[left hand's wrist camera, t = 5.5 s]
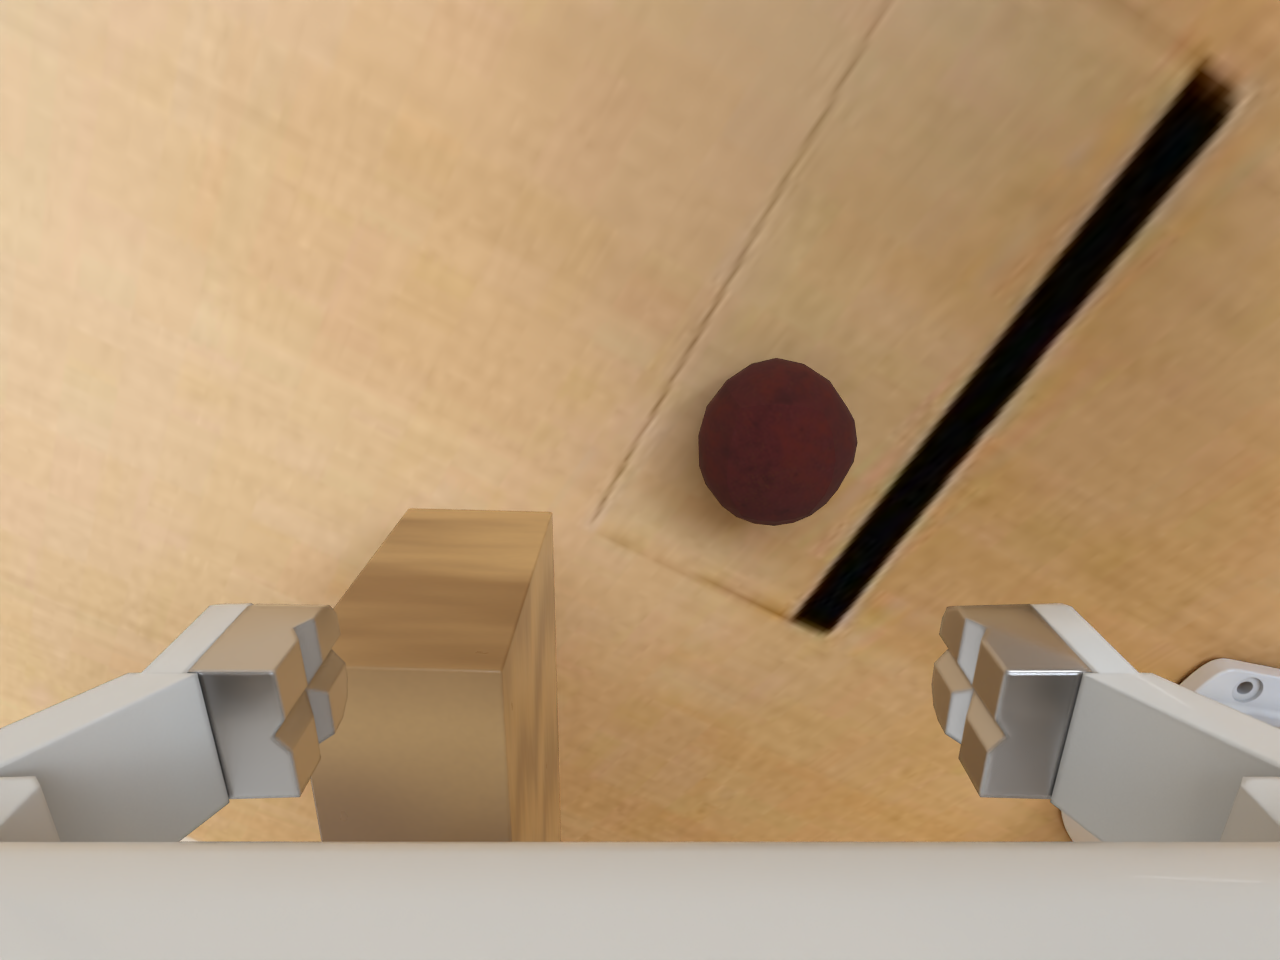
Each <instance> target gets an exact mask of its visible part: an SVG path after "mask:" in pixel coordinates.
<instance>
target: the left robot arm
mask: <svg viewBox="0 0 1280 960" xmlns="http://www.w3.org/2000/svg"><path fill="white" fill-rule="evenodd" d="M340 635H341V633H340V628H339V623H338V618H337V614H336V612H335V611H334V610H333V609H332V607H331V606H330V605H287V604H255V605H254V604H252V603H240V604H217V605H210V606H209V607H208V608H207V609H206V610H205V611H204V612H203V613H202V614H201V615H200V616H199V617H198V618H197V619H196V620H195V621H194V622H193V623H192V624H190V625H189V626H188V627H187V628H186V629H185V630H184V631H183V632H182V633H181V634H180V635H179V636H178V637H177V638H176V639H175V640H174V641H173V642H172V643H171V644H170V645H169V646H168V647H167V648H166V649H165V650H164V651H163V652H162V653H161V654H160V655H159V656H158V657H157V658H156V659H155V660H154V661H153V662H152V663H151V664H150V665H149V666H148V667H147V668H146V669H145V670H144V671H142V672H141V673H127V674H125V675H123V676H120V677H118V678H116V679H113V680H111V681H109V682H106V683H104V684H102V685H100V686H97V687H95V688H93V689H90V690H88V691H86V692H83V693H81V694H79V695H76V696H74V697H72V698H70V699H67V700H65V701H63V702H60V703H58V704H56V705H53V706H51V707H49V708H46V709H44V710H42V711H40V712H37V713H35V714H33V715H30V716H28V717H26V718H23V719H21V720H19V721H16V722H14V723H12V724H10V725H7V726H5V727H3V728H0V960H1280V729H1279V728H1277V727H1275V726H1272V725H1270V724H1268V723H1266V722H1263V721H1261V720H1259V719H1256V718H1254V717H1252V716H1249V715H1247V714H1245V713H1243V712H1240V711H1238V710H1236V709H1233V708H1231V707H1229V706H1226V705H1224V704H1222V703H1220V702H1217V701H1215V700H1213V699H1210V698H1208V697H1206V696H1203V695H1201V694H1199V693H1197V692H1194V691H1192V690H1190V689H1187V688H1185V687H1183V686H1180V685H1178V684H1176V683H1173V682H1171V681H1169V680H1167V679H1164V678H1162V677H1160V676H1157V675H1155V674H1153V673H1139V672H1138V671H1137V670H1136V669H1134V668H1133V667H1132V666H1131V665H1130V664H1129V663H1128V662H1127V661H1126V660H1125V659H1124V658H1123V657H1122V656H1121V655H1120V654H1119V653H1118V652H1117V651H1116V650H1115V649H1114V648H1113V647H1112V646H1111V645H1110V644H1109V643H1108V642H1107V641H1106V640H1105V639H1104V638H1103V637H1102V636H1101V635H1100V634H1099V633H1098V632H1097V631H1096V630H1095V629H1094V628H1093V627H1092V626H1091V625H1090V624H1089V623H1088V622H1087V621H1086V620H1085V619H1084V618H1083V617H1082V616H1081V615H1080V614H1078V613H1077V612H1076V611H1075V610H1074V609H1073V608H1072V607H1071V606H1068V605H1066V604H1063V603H1049V604H1017V605H976V606H951V607H947V609H946V611H945V613H944V615H943V617H942V622H941V627H940V633H939V635H940V636H941V638H942V640H943V641H944V643H945V644H946V646H947V647H948V650H947V651H946V652H945V653H944V654H943V655H942V656H941V657H940V658H939V659H938V660H937V661H936V662H935V663H934V670H933V678H932V695H933V705H934V709H935V712H936V715H937V719H938V721H939V723H940V725H941V727H942V729H943V731H944V733H945V734H946V735H948V736H949V737H951V738H952V739H954V740H955V741H957V742H958V743H960V744H961V748H960V753H959V760H960V762H961V764H962V765H963V767H964V769H965V771H966V773H967V774H968V776H969V778H970V780H971V781H972V783H973V785H974V787H975V789H976V790H977V792H978V794H979V796H980V797H994V798H1031V799H1051V801H1050V802H1051V803H1052V804H1053V805H1055V806H1056V807H1057V808H1058V809H1060V810H1061V811H1062V812H1064V813H1065V814H1066V815H1068V816H1069V817H1070V818H1071V819H1073V820H1074V821H1075V822H1077V823H1078V824H1079V825H1080V826H1082V827H1083V828H1084V829H1086V830H1087V831H1088V832H1089V833H1091V834H1092V835H1093V836H1095V837H1096V838H1097V839H1098V840H1100V841H1101V842H179V841H180V840H182V839H183V838H184V837H186V836H187V835H188V834H189V833H191V832H192V831H193V830H195V829H196V828H197V827H199V826H200V825H201V824H202V823H204V822H205V821H206V820H208V819H209V818H210V817H211V816H213V815H214V814H215V813H217V812H218V811H219V810H221V809H222V808H223V807H224V806H226V805H227V804H228V803H229V799H248V798H284V797H300V796H301V794H302V792H303V790H304V789H305V787H306V785H307V783H308V782H309V780H310V778H311V776H312V774H313V773H314V771H315V769H316V767H317V765H318V764H319V762H320V760H321V753H320V748H319V744H320V743H322V742H323V741H325V740H326V739H328V738H329V737H331V736H332V735H334V734H335V733H336V731H337V729H338V727H339V725H340V723H341V721H342V719H343V716H344V711H345V707H346V703H347V698H348V676H347V669H346V663H345V662H344V661H343V660H342V659H341V658H340V657H339V656H338V655H337V654H336V653H335V652H334V651H333V650H332V647H333V646H334V644H335V643H336V641H337V640H338V638H339V636H340Z"/></svg>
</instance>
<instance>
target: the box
mask: <svg viewBox="0 0 1280 960" xmlns="http://www.w3.org/2000/svg"><path fill="white" fill-rule="evenodd" d="M333 610H334V611H335V612H336V614H337V618H338V623H339V628H340V633H341V635H340V636H339V638H338V640H337V641H336V643H335V644H334V646H333V647H332V650H333V651H334V652H335V653H336V654H337V655H338V656H339V657H340V658H341V659H342V660H343V661H344V662H345V663H346V669H347V676H348V698H347V703H346V707H345V711H344V716H343V719H342V721H341V723H340V725H339V727H338V729H337V731H336V733H335V734H334V735H332V736H331V737H329V738H328V739H326V740H325V741H323V742H322V743H320V744H319V748H320V753H321V760H320V762H319V764H318V765H317V767H316V769H315V771H314V773H313V774H312V776H311V778H310V779H311V784H312V790H313V795H314V801H315V807H316V812H317V818H318V824H319V829H320V835H321V840H322V842H561V824H560V786H559V748H558V711H557V673H556V635H555V597H554V560H553V522H552V513H551V512H529V511H489V510H449V509H408V510H407V512H406V513H405V514H404V516H403V517H402V518H401V520H400V521H399V522H398V524H397V525H396V526H395V528H394V529H393V530H392V532H391V533H390V534H389V535H388V537H387V538H386V539H385V541H384V542H383V543H382V545H381V546H380V547H379V549H378V550H377V551H376V553H375V554H374V555H373V557H372V558H371V559H370V561H369V562H368V563H367V565H366V566H365V567H364V569H363V570H362V571H361V573H360V574H359V575H358V577H357V578H356V579H355V581H354V582H353V583H352V585H351V586H350V587H349V589H348V590H347V591H346V593H345V594H344V595H343V597H342V598H341V599H340V600H339V602H338V603H337V604H336V606H335V607H334V608H333Z"/></svg>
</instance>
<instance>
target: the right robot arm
mask: <svg viewBox="0 0 1280 960" xmlns="http://www.w3.org/2000/svg"><path fill="white" fill-rule="evenodd" d="M1239 684H1240V685H1239ZM1180 686H1183V687H1185V688H1187V689H1190V690H1192V691H1194V692H1197V693H1199V694H1201V695H1203V696H1206V697H1208V698H1210V699H1213V700H1215V701H1217V702H1220V703H1222V704H1224V705H1226V706H1229V707H1231V708H1233V709H1236V710H1238V711H1240V712H1243V713H1245V714H1247V715H1249V716H1252V717H1254V718H1256V719H1259V720H1261V721H1263V722H1266V723H1268V724H1270V725H1272V726H1275V727H1277V728H1279V729H1280V669H1278V668H1273V667H1268V666H1263V665H1258V664H1253V663H1248V662H1243V661H1238V660H1233V659H1227V658H1219V659H1215V660H1212V661H1210V662H1208V663H1206V664H1204V665H1203V666H1201V667H1200V668H1198V669H1197V670H1196V671H1195V672H1193V673H1192V674H1191V675H1190V676H1189V677H1187V678H1186V679H1185V680H1184V681H1183V682H1182V683H1181V684H1180ZM1061 813H1062V819H1063V823H1064V826H1065V828H1066V831H1067V833H1068V834H1069V836H1070V838H1071V839H1072V841H1073V842H1101V841H1100V840H1098V839H1097V838H1096V837H1095V836H1093V835H1092V834H1091V833H1089V832H1088V831H1087V830H1086V829H1084V828H1083V827H1082V826H1080V825H1079V824H1078V823H1077V822H1075V821H1074V820H1073V819H1071V818H1070V817H1069V816H1068V815H1066V814H1065V813H1064V812H1062V811H1061Z"/></svg>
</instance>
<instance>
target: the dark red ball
mask: <svg viewBox="0 0 1280 960" xmlns="http://www.w3.org/2000/svg"><path fill="white" fill-rule="evenodd" d="M856 447H857V437H856V429H855V422H854V419H853V417H852V415H851V413H850V412H849V410H848V408H847V406H846V405H845V403H844V402H843V400H842V399H841V397H840V396H839V394H838V393H837V391H836V390H835V388H834V387H833V385H832V384H831V382H830V381H829V380H827V379H826V378H824V377H823V376H821V375H820V374H818V373H817V372H815V371H814V370H812V369H811V368H809V367H808V366H806V365H804V364H801V363H797V362H792V361H788V360H783V359H778V358H774V359H770V360H766V361H762V362H758V363H753V364H751V365H749V366H748V367H746V368H745V369H743V370H742V371H740V372H739V373H737V374H736V375H734V376H733V377H731V378H730V379H728V380H727V381H726V382H725V384H724V385H723V386H722V387H721V389H720V390H719V391H718V393H717V394H716V395H715V397H714V398H713V399H712V401H711V402H710V403H709V404H708V406H707V408H706V411H705V415H704V418H703V422H702V425H701V429H700V432H699V466H700V469H701V472H702V475H703V478H704V481H705V484H706V485H707V487H708V488H709V489H710V491H711V492H712V493H713V495H714V496H715V497H716V499H717V500H718V501H719V502H720V504H721V505H722V506H723V507H724V508H726V509H727V510H728V511H730V512H731V513H732V514H734V515H735V516H736V517H739V518H741V519H744V520H746V521H749V522H752V523H755V524H764V525H773V526H775V525H781V524H787V523H794V522H796V521H798V520H801V519H803V518H805V517H808V516H810V515H812V514H813V513H814V512H816V511H817V510H818V509H820V508H821V507H822V506H824V505H825V504H826V503H827V502H828V501H829V499H830V498H831V497H832V496H833V495H834V493H835V492H836V491H837V490H838V488H839V486H840V485H841V483H842V481H843V479H844V478H845V476H846V474H847V473H848V471H849V469H850V467H851V465H852V464H853V462H854V457H855V452H856Z"/></svg>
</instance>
